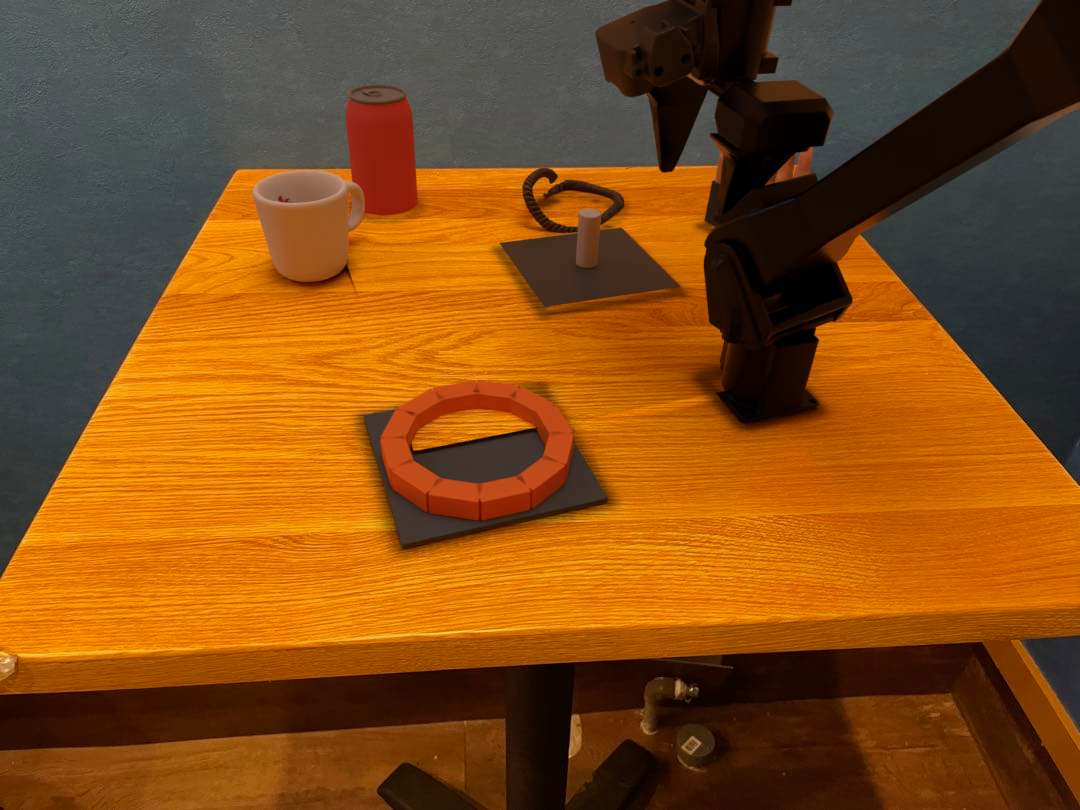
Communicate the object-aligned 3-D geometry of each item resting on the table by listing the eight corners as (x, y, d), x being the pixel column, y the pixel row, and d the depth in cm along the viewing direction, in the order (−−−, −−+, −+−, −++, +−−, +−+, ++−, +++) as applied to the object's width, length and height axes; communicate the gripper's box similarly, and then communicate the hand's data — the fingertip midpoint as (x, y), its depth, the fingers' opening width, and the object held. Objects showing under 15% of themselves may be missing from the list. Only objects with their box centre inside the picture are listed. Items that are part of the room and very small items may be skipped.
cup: (337, 233, 81) (327, 154, 77) (396, 256, 78) (389, 174, 73) (248, 272, 74) (231, 188, 69) (309, 299, 71) (295, 212, 66)
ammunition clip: (796, 261, 79) (825, 138, 72) (783, 266, 79) (812, 142, 71) (714, 223, 86) (734, 107, 79) (702, 227, 85) (721, 110, 78)
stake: (680, 294, 73) (689, 234, 70) (543, 314, 70) (546, 252, 66) (621, 234, 83) (626, 179, 80) (498, 249, 80) (498, 192, 76)
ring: (599, 495, 51) (601, 475, 50) (406, 538, 48) (404, 518, 47) (534, 387, 60) (535, 369, 59) (369, 417, 57) (367, 398, 56)
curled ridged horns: (583, 149, 91) (651, 172, 85) (578, 196, 94) (644, 222, 88) (490, 165, 83) (558, 192, 77) (488, 216, 86) (554, 246, 80)
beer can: (386, 192, 90) (377, 78, 83) (431, 207, 87) (425, 91, 80) (342, 210, 86) (328, 92, 79) (387, 227, 83) (377, 106, 76)
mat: (607, 502, 51) (608, 497, 51) (402, 549, 48) (402, 544, 47) (538, 387, 61) (538, 383, 61) (364, 419, 57) (363, 414, 57)
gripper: (564, -69, 55) (548, 155, 65) (694, 3, 42) (649, 271, 51) (710, -68, 58) (674, 145, 68) (873, -1, 45) (799, 252, 55)
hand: (693, 196), depth 61 cm, fingers open, 9 cm apart
